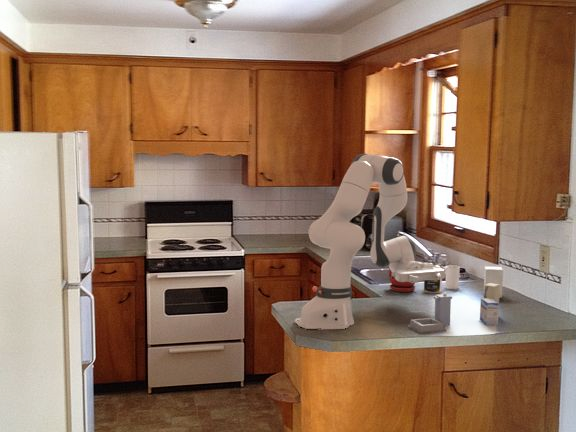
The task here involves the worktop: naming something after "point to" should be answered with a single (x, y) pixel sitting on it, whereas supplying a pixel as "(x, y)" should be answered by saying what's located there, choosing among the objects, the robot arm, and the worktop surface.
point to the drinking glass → (452, 276)
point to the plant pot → (400, 284)
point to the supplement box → (494, 277)
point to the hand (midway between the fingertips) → (428, 278)
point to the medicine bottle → (433, 285)
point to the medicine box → (489, 311)
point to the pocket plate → (426, 325)
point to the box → (492, 292)
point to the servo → (443, 308)
